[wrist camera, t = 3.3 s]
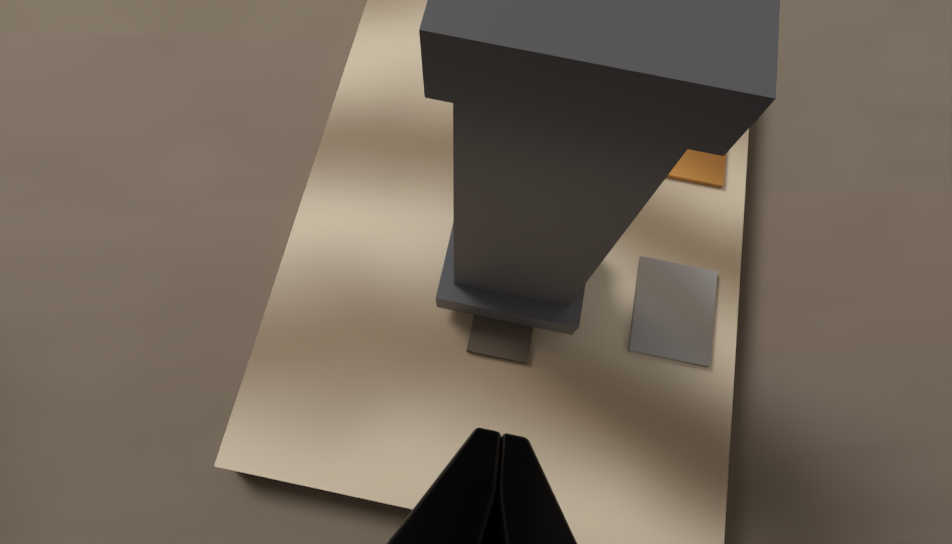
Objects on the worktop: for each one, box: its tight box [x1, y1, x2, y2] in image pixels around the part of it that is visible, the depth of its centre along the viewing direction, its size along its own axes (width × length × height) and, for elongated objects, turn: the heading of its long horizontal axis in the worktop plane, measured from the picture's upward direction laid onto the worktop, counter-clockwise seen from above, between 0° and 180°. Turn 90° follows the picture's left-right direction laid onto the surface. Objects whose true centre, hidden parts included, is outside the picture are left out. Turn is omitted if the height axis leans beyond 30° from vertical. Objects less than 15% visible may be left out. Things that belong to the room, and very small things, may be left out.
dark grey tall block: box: [419, 0, 780, 335], centre depth 12 cm, size 3×4×11 cm
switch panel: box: [214, 0, 749, 544], centre depth 18 cm, size 20×14×4 cm
